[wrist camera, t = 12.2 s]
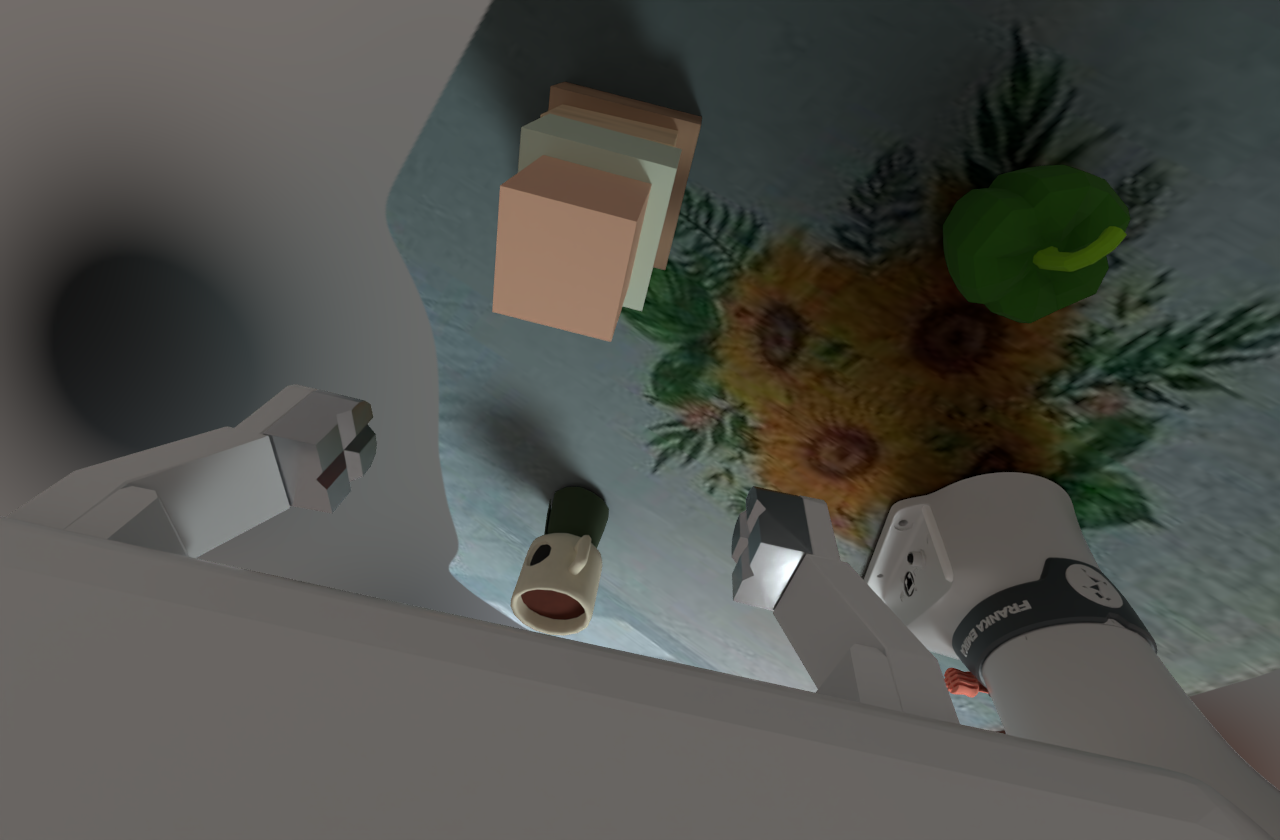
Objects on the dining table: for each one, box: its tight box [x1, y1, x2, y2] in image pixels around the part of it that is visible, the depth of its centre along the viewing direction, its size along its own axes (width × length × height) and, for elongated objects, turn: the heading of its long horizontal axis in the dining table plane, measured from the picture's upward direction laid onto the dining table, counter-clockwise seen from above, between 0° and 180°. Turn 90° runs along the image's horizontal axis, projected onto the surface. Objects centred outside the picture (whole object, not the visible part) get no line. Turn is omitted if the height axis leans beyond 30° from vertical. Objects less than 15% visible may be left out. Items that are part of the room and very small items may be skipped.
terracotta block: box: [493, 155, 652, 342], centre depth 23 cm, size 5×5×6 cm
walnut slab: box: [548, 82, 702, 270], centre depth 35 cm, size 9×9×4 cm
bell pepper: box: [943, 165, 1130, 323], centre depth 32 cm, size 8×8×10 cm
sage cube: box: [518, 113, 682, 311], centre depth 27 cm, size 7×7×5 cm
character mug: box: [511, 487, 609, 635], centre depth 51 cm, size 11×7×13 cm, turn 150°
